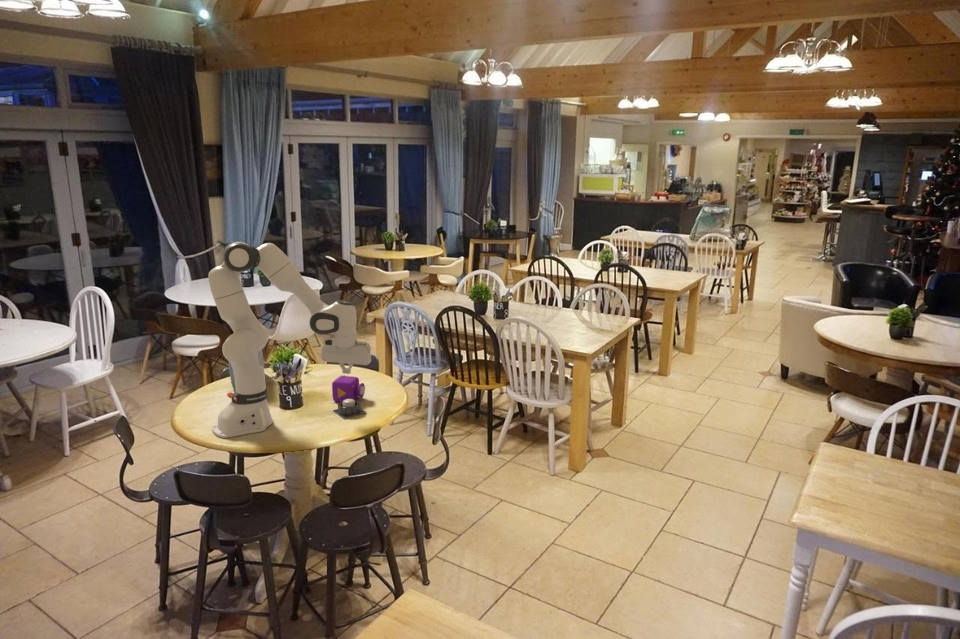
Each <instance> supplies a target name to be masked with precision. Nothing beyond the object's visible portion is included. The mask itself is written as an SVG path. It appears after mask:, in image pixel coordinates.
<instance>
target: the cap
mask: <svg viewBox="0 0 960 639" xmlns="http://www.w3.org/2000/svg"><path fill="white" fill-rule="evenodd" d="M355 401H356V399H355V400H353V399H346V400H344V401H343V407H353V406H355Z"/></svg>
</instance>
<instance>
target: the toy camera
mask: <svg viewBox="0 0 960 639" xmlns="http://www.w3.org/2000/svg"><path fill="white" fill-rule="evenodd" d="M331 392H332V401H333V402H337V403H340V402H342V401H344V400H346V399H353V400H355V401H356V399H358V398H361V399H362V398H363V397H364V396H365V393H366V386H365V383H363V382H361V383H360V379H359V377H358V376H352V375H351V376H349V375H344V374H340V375H339V376H338V377H337V378H336V379H334V380H333V381H332V383H331Z"/></svg>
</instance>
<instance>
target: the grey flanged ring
mask: <svg viewBox="0 0 960 639" xmlns="http://www.w3.org/2000/svg"><path fill="white" fill-rule="evenodd" d="M332 412H333V413H334V414H336V415H337V416H339V417H340V418H342V419H344V420H346V419H350V418H354V417H357V416H361V415H365V414H367V411H366V410H364V409H363V408H362V407H361V402H360V401H359V400H355V406H353V407H343V401H342V402H338V404H337V409H333V410H332ZM364 413H365V414H364Z"/></svg>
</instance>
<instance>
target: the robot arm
mask: <svg viewBox="0 0 960 639" xmlns="http://www.w3.org/2000/svg"><path fill="white" fill-rule="evenodd" d="M255 268H257V269H258V270H259V271H261V273H263V275H264V276H265V277H266V278H267V279H268V281H269V282H270V283H271V284H272V285H273V286H274V287H275V288H277V289H278V290H279V291H281V292H288V293H291V294H293V295H295V296H296V297H297V299H299V301H300V302H301V303H302V304H303V305H304V306H305V307H306V308H307V309H308V310H309V312H310V318H309V326H310V327H309V328H310V329H311V331H312V332H313V333H315V334H317V335H321V336H322V335H328V334H334V335H329V336H327V337H326V338H324V339H323V340H322V347H321V353H320V354H321V355H320V357H321V360H322V361H323V362H325V363H326V362H329V363H338V364H339V368H341V371H342V372H341V373H342V374H348V375H349V374H351V371H352V370H351V369H352V368H353V367H354V365H359V366H360V365H361V366H368V365H369V364H371V362H372V354H371V350H372V349H371V348H372V347H371V345H370V343H368V342H366V341H363V342H362V341H358V332H357V327H356V326H357V309H356V307H355V305H354V303H353V302H351V301H348V300H344V299H338V300H335V302H333V303H332V304H329V303H328V302H326V301H324V300H323V299H321V298H320V297H319V296H318V295H317V293H316V292H315V291H314V290H313V289H312V288H311V286H309V284H308V283H307V282H306V280H305V279H304V278H303V276H302V274H301V273H300V271H299V269H298V268H297V267H296V265H295V264H294V262H292V260H291V259H290V258H289V257H288V255H287V254H286V253H285V252H283V250H282V249H281V248H279V247H278V246H277V245H276V244H274V243H272V242H266V243H263V244H261V245H259V246H258V247H254V246H251V245H249V244H248V243H246V242H244V241H234V242H231V243H230V244H227V246H226V248H225V249H224V252H223V261H222V263H221V264H220V265H218V266H214V268H212V269H210V271H209V272H208V278H207V279H208V282H209V284H208V285H209V287H210V288H209V289H210V292H211V295H212V297H213V300H214V303H215V306H216V308H217V311H218V313H219V317H220V318H221V319H222V321H224V322H226V323H227V325H229V327H230V329H231V330H232V332H233V333H232V334H230V335H229V336H228V337H227V338H226V339H225V341H224V342H223V344H222V347H221V352H222V354H223V356H224V358H225V359H226V360H227V361H228V362H229V361H230V363H231V366H232V369H233V372H234V377H235V386H236V390H234V392H232V391H228V392H227V397H228V398H229V399H231V402H229V403H228V404H227V405H226V406H225V407H224V408H223V409H222V410H220V412H219V413H218V416H217V423H214V424H213V425H212V427H211V431H212V433H213V434H214V435H215V436H217V437H218V438H222V439H227V438H232V437H237V436H238V437H239V436H243V435H249V434H255V433H260V432H264V431H266V429H267V428H268V427H269V426H271V425H272V424H273V422H274V419H273V417H272V414H271V411H270V407H269V402H268V401H269V394H268V393H269V392H268V387H267V386H266V377H265V376H266V374H265V368H264V369H263V367H261V366H260V363H259V361H258V357H257V354H258V351H260V350H261V349H262V350H263V349H264V348H265V347H266V345H267V343H268V342H269V339H270V333H269V330H268V329H267V327H266V326H265V325H263V324H262V323H261V322H260V321H259V320H258V318H257V316H256V315H255V314H254V312H253V311H252V308H251V306H250V304H249V300H248V298H247V295H246V293H245V291H244V287H243V284H242V283H241V282H242V281H241V278H240V277H241V273H242V272H246V271H249V270H252V269H255ZM345 364H347V366H348V368H346V366H345Z"/></svg>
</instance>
